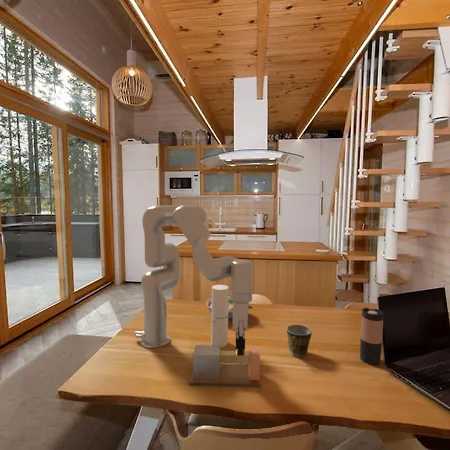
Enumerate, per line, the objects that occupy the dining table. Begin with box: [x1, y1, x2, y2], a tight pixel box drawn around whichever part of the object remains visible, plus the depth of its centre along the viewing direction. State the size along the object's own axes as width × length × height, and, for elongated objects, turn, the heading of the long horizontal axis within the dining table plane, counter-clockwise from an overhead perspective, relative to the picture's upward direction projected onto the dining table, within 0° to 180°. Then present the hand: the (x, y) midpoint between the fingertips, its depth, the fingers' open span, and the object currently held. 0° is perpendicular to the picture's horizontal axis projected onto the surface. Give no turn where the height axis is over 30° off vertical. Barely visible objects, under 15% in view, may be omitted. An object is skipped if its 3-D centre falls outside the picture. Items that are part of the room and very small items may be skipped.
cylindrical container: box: [210, 284, 229, 348], centre depth 129 cm, size 7×7×25 cm
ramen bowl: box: [206, 293, 253, 320], centre depth 160 cm, size 25×23×8 cm
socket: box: [248, 345, 261, 380], centre depth 105 cm, size 3×7×8 cm, turn 179°
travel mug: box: [359, 307, 384, 366], centre depth 117 cm, size 8×8×20 cm
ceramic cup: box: [286, 324, 313, 358], centre depth 121 cm, size 13×10×10 cm
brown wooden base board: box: [188, 344, 262, 388], centre depth 106 cm, size 24×12×9 cm, turn 89°
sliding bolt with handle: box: [220, 328, 250, 364], centre depth 105 cm, size 16×3×12 cm, turn 89°
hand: (240, 345), depth 105 cm, fingers closed on sliding bolt with handle, 3 cm apart
